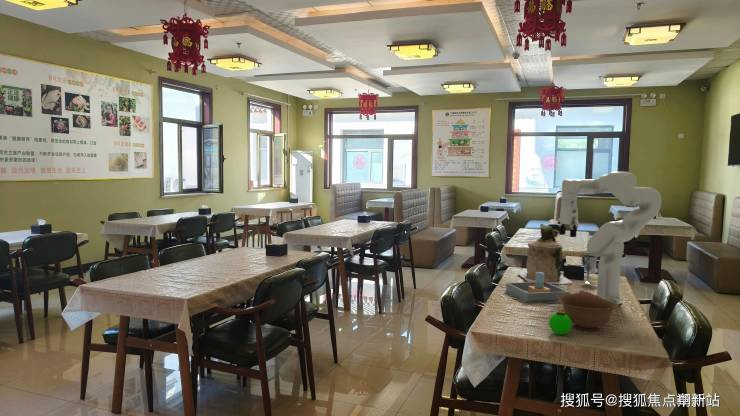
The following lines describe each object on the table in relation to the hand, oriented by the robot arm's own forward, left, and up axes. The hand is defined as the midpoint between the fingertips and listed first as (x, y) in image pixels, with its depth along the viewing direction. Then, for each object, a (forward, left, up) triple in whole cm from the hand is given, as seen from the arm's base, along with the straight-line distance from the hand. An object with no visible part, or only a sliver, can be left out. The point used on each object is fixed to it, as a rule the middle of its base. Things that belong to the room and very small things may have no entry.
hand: (567, 235), depth 260 cm
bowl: (-61, +29, -28) cm, 73 cm away
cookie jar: (+23, -1, -29) cm, 37 cm away
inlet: (-9, +20, -28) cm, 36 cm away
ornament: (-67, +44, -28) cm, 85 cm away
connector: (-9, +20, -27) cm, 35 cm away
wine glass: (+13, -22, -28) cm, 38 cm away
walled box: (-12, +23, -28) cm, 38 cm away
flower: (-42, +16, -29) cm, 53 cm away
